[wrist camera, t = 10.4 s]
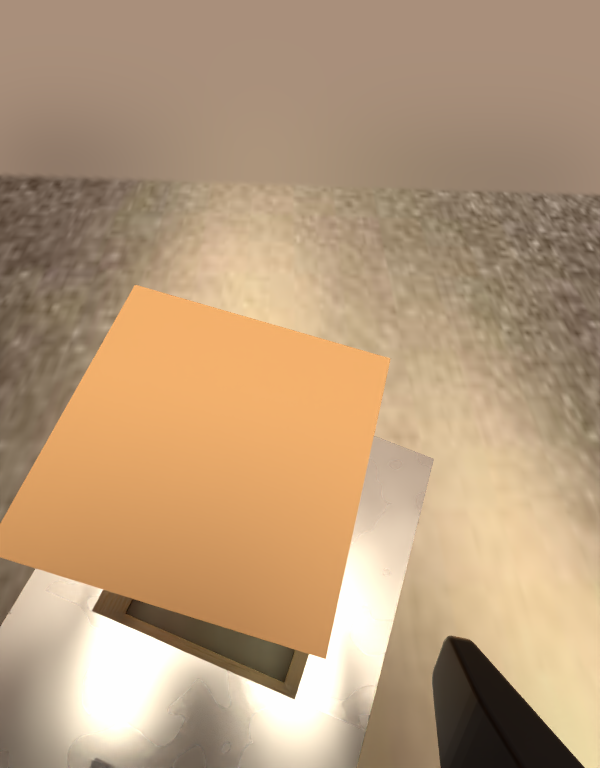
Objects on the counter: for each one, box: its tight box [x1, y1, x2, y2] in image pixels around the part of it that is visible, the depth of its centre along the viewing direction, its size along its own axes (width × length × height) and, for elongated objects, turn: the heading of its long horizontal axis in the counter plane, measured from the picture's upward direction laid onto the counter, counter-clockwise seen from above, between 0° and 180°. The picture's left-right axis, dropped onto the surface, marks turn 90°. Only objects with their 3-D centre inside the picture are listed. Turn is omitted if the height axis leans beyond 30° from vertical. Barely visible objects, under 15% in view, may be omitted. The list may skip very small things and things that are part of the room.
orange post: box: [0, 285, 390, 659], centre depth 12 cm, size 4×4×13 cm
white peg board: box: [0, 436, 434, 768], centre depth 14 cm, size 20×10×4 cm, turn 159°
